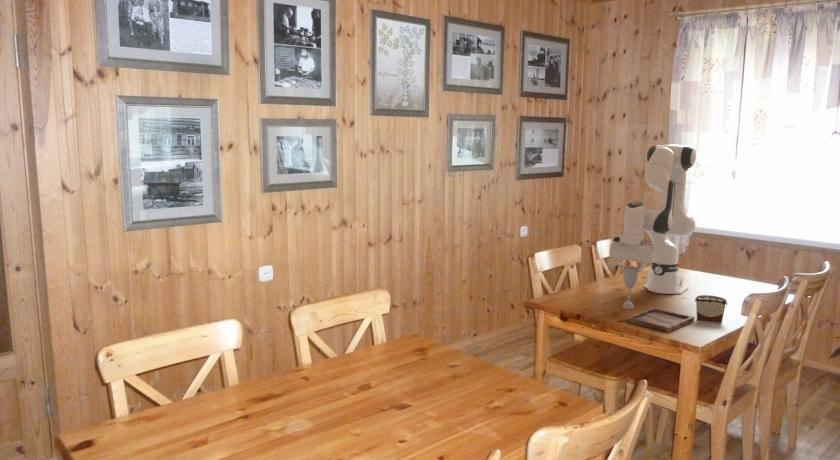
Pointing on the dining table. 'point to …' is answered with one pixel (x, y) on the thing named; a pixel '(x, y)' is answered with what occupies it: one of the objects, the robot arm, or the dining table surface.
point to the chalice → (629, 282)
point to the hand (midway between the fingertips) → (630, 270)
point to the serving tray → (660, 320)
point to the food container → (710, 308)
